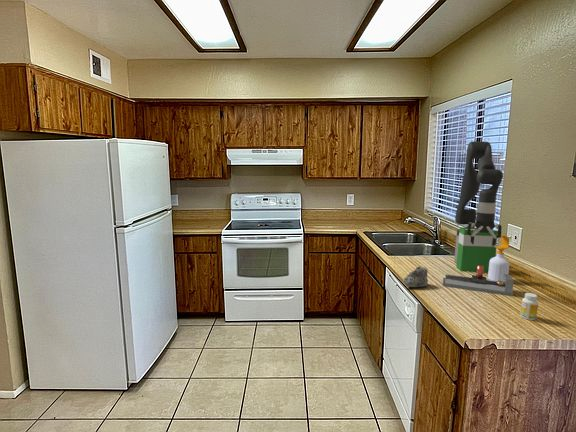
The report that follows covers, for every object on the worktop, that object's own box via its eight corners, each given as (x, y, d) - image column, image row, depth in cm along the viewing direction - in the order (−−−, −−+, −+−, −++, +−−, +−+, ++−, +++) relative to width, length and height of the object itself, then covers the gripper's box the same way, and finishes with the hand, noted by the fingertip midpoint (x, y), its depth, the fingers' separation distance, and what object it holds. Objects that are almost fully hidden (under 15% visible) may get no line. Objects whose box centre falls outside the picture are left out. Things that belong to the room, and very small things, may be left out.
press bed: (443, 280, 182) (444, 266, 181) (510, 289, 169) (511, 274, 168) (442, 285, 174) (443, 271, 173) (513, 296, 161) (514, 280, 160)
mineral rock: (404, 289, 169) (406, 269, 167) (399, 281, 180) (400, 262, 178) (432, 290, 168) (433, 270, 167) (425, 282, 179) (426, 263, 177)
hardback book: (488, 268, 202) (492, 228, 199) (493, 272, 195) (498, 230, 191) (456, 267, 205) (459, 227, 201) (460, 271, 197) (464, 229, 194)
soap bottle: (483, 278, 186) (488, 233, 182) (496, 276, 189) (500, 232, 185) (499, 283, 177) (504, 236, 174) (511, 281, 181) (517, 235, 177)
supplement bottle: (518, 317, 139) (521, 294, 138) (521, 313, 143) (524, 291, 142) (535, 321, 136) (538, 298, 134) (537, 317, 140) (540, 294, 138)
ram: (471, 281, 175) (473, 263, 173) (485, 283, 172) (487, 265, 171) (472, 285, 170) (473, 266, 168) (486, 287, 167) (488, 268, 166)
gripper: (502, 211, 166) (498, 244, 168) (468, 209, 171) (465, 241, 174) (504, 213, 159) (500, 248, 161) (469, 211, 165) (466, 244, 167)
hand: (482, 244), depth 168 cm, fingers open, 8 cm apart
